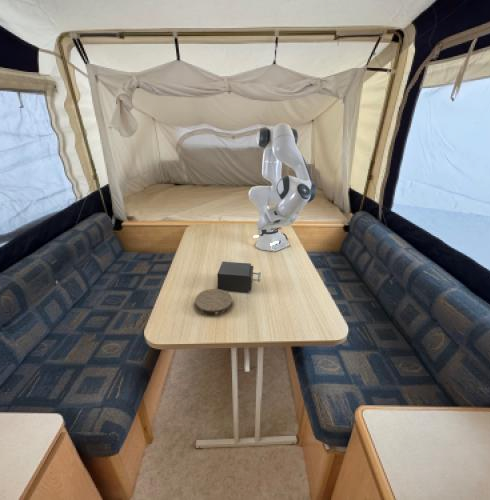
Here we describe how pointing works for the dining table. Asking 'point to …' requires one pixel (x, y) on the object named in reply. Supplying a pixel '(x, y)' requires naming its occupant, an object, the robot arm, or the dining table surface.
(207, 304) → the round wood slice
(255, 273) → the drawer
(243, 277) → the cabinet
